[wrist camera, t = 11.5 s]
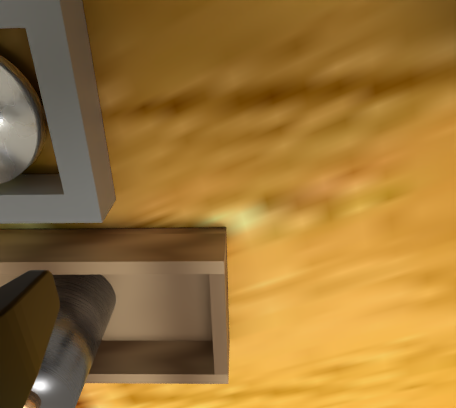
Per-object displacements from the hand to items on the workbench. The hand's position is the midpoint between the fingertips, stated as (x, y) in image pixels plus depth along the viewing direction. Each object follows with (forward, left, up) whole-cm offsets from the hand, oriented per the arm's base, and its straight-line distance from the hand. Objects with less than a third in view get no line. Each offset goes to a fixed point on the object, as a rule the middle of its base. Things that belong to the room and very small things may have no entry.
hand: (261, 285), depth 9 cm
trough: (+10, +10, -12) cm, 18 cm away
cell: (+10, +10, -11) cm, 18 cm away
